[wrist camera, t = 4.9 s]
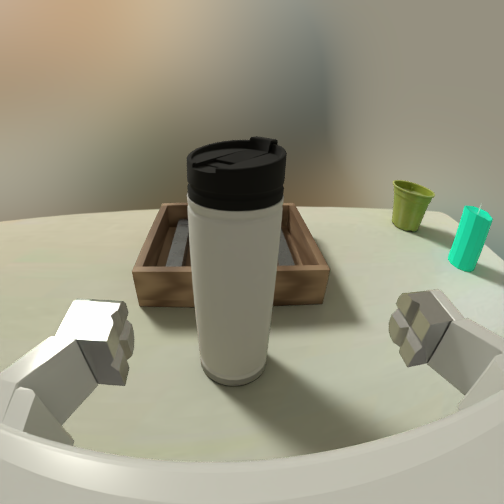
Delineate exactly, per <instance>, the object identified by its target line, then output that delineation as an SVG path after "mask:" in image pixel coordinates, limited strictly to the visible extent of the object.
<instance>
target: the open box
mask: <svg viewBox="0 0 504 504" xmlns="http://www.w3.org/2000/svg"><path fill="white" fill-rule="evenodd" d="M187 206H188V203H163V204H162V206H161V208H160V210H159V212H158V214H157V216H156V218H155V220H154V223H153V225H152V227H151V229H150V231H149V233H148V236H147V238H146V240H145V242H144V245H143V247H142V249H141V251H140V254H139V256H138V258H137V261H136V263H135V266H134V268H133V270H132V274H133V279H134V284H135V288H136V293H137V297H138V302H139V306H148V307H195V305H194V294H193V283H192V270H191V257H190V243H189V248H188V253H187V259H186V264H185V267H166V263H167V259H168V256H169V252H170V249H171V245H172V242H173V238H174V235H175V232H176V228H177V225H178V222H179V219H188V207H187ZM282 207H283V211H282V221H281V229H282V232H283V235H284V237H285V240H286V242H287V245H288V248H289V250H290V253H291V256H292V258H293V261H294V264H295V265H294V266H277V271H276V280H275V290H274V299H273V306H283V305H307V304H322V303H323V299H324V295H325V290H326V286H327V281H328V277H329V272H330V269H329V267H328V265H327V263H326V261H325V259H324V257H323V255H322V253H321V252H320V250H319V248H318V246H317V244H316V242H315V240H314V239H313V237H312V235H311V233H310V231H309V229H308V228H307V226H306V224H305V222H304V220H303V219H302V217H301V215H300V213H299V211H298V210H297V208H296V206H295V205H294V203H283V205H282Z"/></svg>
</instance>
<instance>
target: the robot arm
mask: <svg viewBox="0 0 504 504" xmlns="http://www.w3.org/2000/svg"><path fill="white" fill-rule="evenodd" d="M396 305H397V308H398V309H397V310H396V311H395V312H394V313H393V314H392V315H391V318H390V321H389V334H390V337H391V339H392V341H393V342H394V343H395V344H397V345H398V346H400V350H399V353H400V355H401V357H402V359H403V361H404V362H405V364H406V366H407V367H411V366H416V365H421V364H426V363H428V364H427V365H429V366H430V367H431V368H432V369H434V370H435V371H436V372H437V373H438V374H440V375H441V376H442V377H443V378H445V379H446V380H447V381H448V382H449V383H451V384H452V385H453V386H454V387H455V388H457V389H458V390H459V391H460V392H461V393H463V394H464V395H465V396H464V397H463V398H462V400H461V401H460V402H459V403H458V406H457V408H458V409H459V411H458V412H455V413H453V414H451V415H448V416H446V417H443V418H441V419H438V420H436V421H433V422H430V423H428V424H425V425H422V426H419V427H416V428H414V429H411V430H408V431H404V432H401V433H398V434H395V435H392V436H388V437H385V438H381V439H377V440H374V441H370V442H366V443H362V444H358V445H354V446H349V447H345V448H340V449H335V450H330V451H324V452H319V453H313V454H306V455H299V456H292V457H284V458H274V459H263V460H249V461H225V462H197V461H173V460H159V459H148V458H139V457H131V456H124V455H117V454H111V453H105V452H99V451H94V450H89V449H84V448H80V447H75V446H73V444H74V440H73V438H72V437H71V435H70V434H69V433H68V432H67V431H66V430H65V429H64V428H63V427H62V425H63V423H64V422H65V421H66V420H67V419H68V418H69V417H70V416H71V415H72V413H73V412H74V411H75V410H76V409H77V408H78V407H79V406H80V405H81V404H82V402H83V401H84V400H85V399H86V398H87V397H88V396H89V395H90V394H91V393H92V392H93V390H94V389H95V388H96V387H97V386H98V384H106V385H119V386H125V385H126V380H127V376H128V371H129V365H128V362H127V360H128V359H129V358H130V357H131V356H132V354H133V350H134V332H133V327H132V324H131V323H130V322H129V321H128V320H126V319H127V316H128V309H127V306H126V303H125V302H123V301H112V300H96V299H92V300H91V299H76V300H74V301H73V303H72V305H71V306H70V308H69V310H68V312H67V314H66V316H65V318H64V320H63V322H62V324H61V325H60V327H59V329H58V331H57V333H56V335H55V337H51V336H50V337H49V338H48V339H46V340H45V341H43V342H42V343H40V344H39V345H38V346H36V347H35V348H33V349H32V350H31V351H29V352H28V353H26V354H25V355H24V356H22V357H21V358H20V359H18V360H17V361H15V362H14V363H13V364H11V365H10V366H9V367H7V368H6V369H5V370H3V371H2V372H0V504H504V338H502V337H501V336H499V335H497V334H495V333H494V332H492V331H490V330H488V329H487V328H485V327H483V326H481V325H479V324H478V323H476V322H474V321H472V320H470V319H469V318H466V319H465V318H464V317H463V315H462V314H461V313H460V312H459V311H458V309H457V308H456V307H455V306H454V305H453V303H452V302H451V301H450V300H449V299H448V298H447V296H446V295H445V294H444V293H443V292H442V291H441V290H439V289H434V290H426V291H420V292H410V293H402V294H401V295H400V296H399V298H398V300H397V303H396Z"/></svg>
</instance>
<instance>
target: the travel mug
mask: <svg viewBox="0 0 504 504" xmlns="http://www.w3.org/2000/svg"><path fill="white" fill-rule="evenodd" d="M286 154H287V153H286V151H285V149H284V148H282V147H281V146H278V145H277V140H276V139H270V138H264V137H257V136H256V137H251V138H250V140H232V141H223V142H217V143H213V144H209V145H205V146H202V147H200V148H197V149H195V150H194V151H192V152H191V153H190V154H189V155H188V157H187V180H188V183H189V184H188V193H187V202H188V206H187V207H188V226H189V243H190V257H191V270H192V283H193V294H194V305H195V315H196V324H197V333H198V342H199V351H200V359H201V366H202V368H203V370H204V372H205V373H206V375H207V376H208V377H210V378H211V379H212V380H214V381H216V382H218V383H220V384H223V385H229V386H239V385H244V384H247V383H250V382H252V381H254V380H255V379H257V378H258V377H259V376H260V375H261V373H262V372H263V370H264V368H265V365H266V357H267V349H268V341H269V333H270V325H271V316H272V307H273V299H274V290H275V280H276V271H277V262H278V252H279V242H280V232H281V221H282V211H283V207H282V205H283V200H284V195H283V190H284V187H283V183H284V178H285V166H286Z"/></svg>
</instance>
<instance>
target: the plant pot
mask: <svg viewBox="0 0 504 504" xmlns="http://www.w3.org/2000/svg"><path fill="white" fill-rule="evenodd" d="M393 185H394V206H393V215H392V222H393V223H394V225H395V226H396V227H398V228H400V229H403V230H406V231H408V230H412V231H417V230H418V228H419V225H420V223H421V221H422V218H423V216H424V214H425V211H426V209H427V207H428V204H429V203H430V202H431V199H432V198H433V197H434V196H435V194H434V192H432V191H431V190H429V189H428V188H426V187H423V186H421V185H418V184H416V183H412V182H408V181H403V180H394V181H393Z"/></svg>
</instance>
